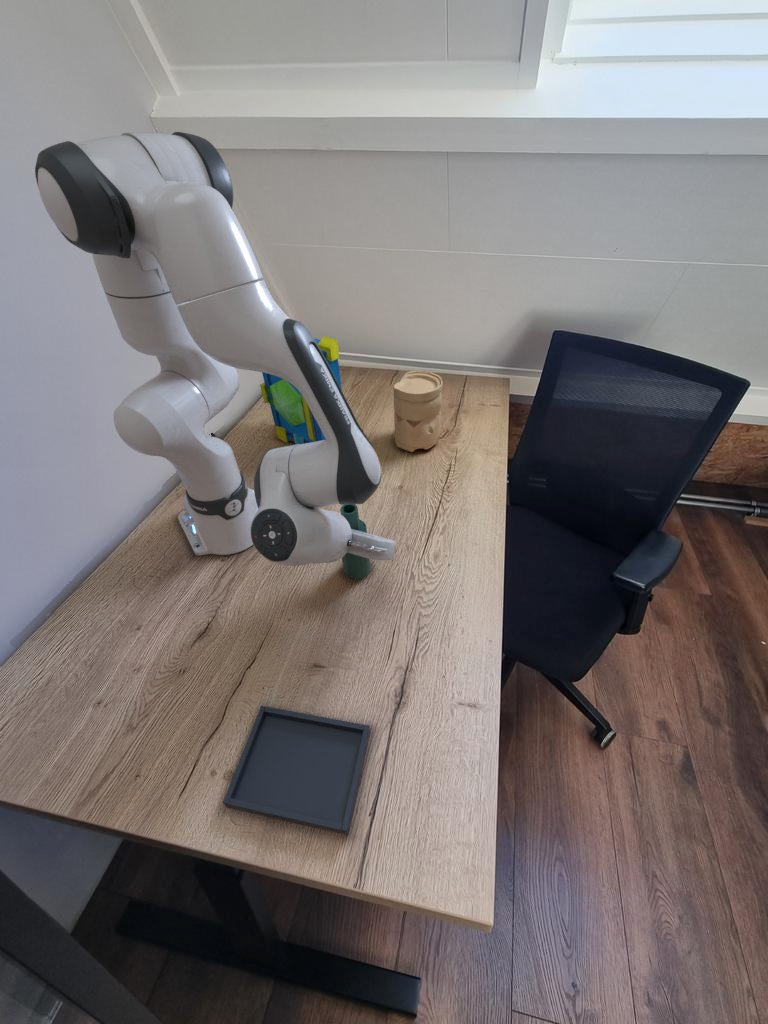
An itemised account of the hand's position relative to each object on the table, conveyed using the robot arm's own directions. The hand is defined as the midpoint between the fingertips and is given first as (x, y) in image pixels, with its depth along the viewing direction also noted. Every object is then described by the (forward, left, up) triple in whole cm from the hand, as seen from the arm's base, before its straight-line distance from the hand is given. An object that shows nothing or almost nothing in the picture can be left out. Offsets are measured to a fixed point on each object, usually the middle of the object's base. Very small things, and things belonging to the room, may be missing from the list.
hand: (354, 537), depth 88 cm
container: (-22, +42, -9) cm, 49 cm away
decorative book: (-44, +22, -9) cm, 50 cm away
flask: (0, 0, -9) cm, 9 cm away
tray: (+22, -31, -9) cm, 40 cm away
